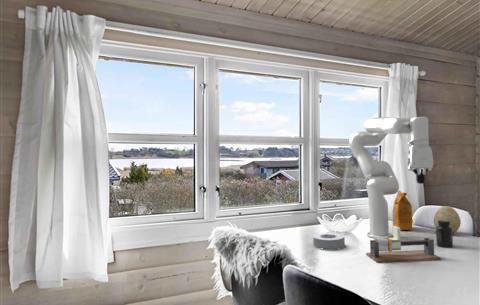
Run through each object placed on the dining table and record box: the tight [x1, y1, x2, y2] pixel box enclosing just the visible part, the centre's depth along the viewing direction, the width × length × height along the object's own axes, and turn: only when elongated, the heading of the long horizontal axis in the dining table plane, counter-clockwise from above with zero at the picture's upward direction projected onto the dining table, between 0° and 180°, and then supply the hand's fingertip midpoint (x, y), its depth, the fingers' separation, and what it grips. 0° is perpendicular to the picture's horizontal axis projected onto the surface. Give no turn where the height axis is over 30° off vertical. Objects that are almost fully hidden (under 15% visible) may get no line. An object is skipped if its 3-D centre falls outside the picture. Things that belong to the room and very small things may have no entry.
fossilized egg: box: [433, 205, 462, 234], centre depth 198 cm, size 13×13×15 cm
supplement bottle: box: [435, 220, 454, 248], centre depth 174 cm, size 7×7×12 cm
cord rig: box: [365, 237, 442, 264], centre depth 158 cm, size 12×27×9 cm, turn 92°
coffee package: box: [392, 190, 414, 232], centre depth 214 cm, size 10×12×22 cm
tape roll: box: [312, 232, 346, 250], centre depth 182 cm, size 15×15×5 cm
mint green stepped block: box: [390, 225, 402, 251], centre depth 158 cm, size 4×4×9 cm
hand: (420, 183), depth 169 cm, fingers closed
